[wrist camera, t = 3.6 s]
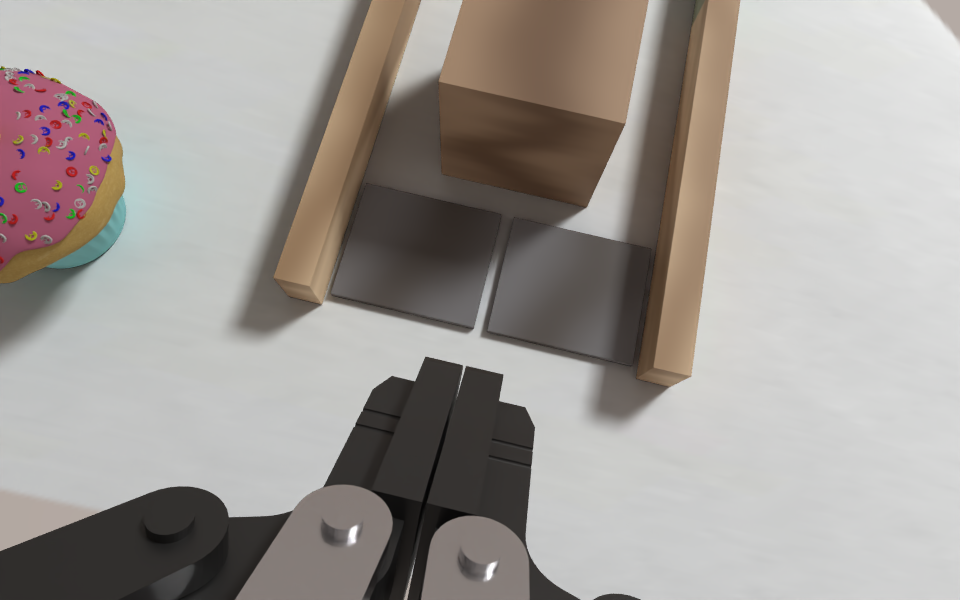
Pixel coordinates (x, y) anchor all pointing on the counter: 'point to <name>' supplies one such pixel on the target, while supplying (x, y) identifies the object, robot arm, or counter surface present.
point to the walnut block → (538, 92)
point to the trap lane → (514, 224)
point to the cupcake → (55, 176)
